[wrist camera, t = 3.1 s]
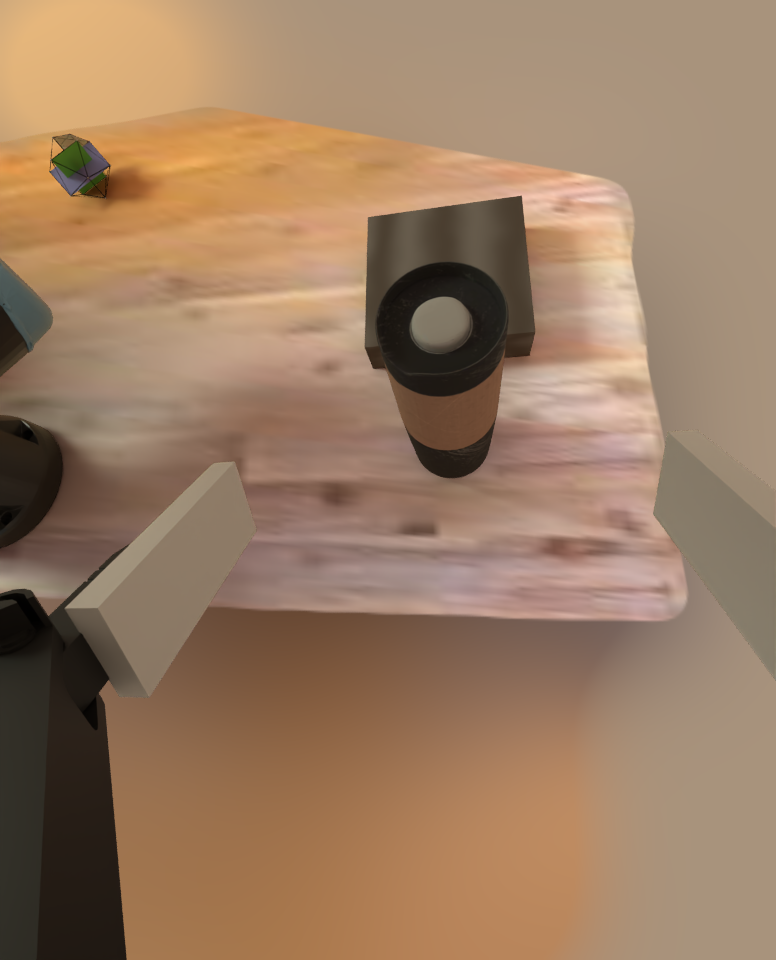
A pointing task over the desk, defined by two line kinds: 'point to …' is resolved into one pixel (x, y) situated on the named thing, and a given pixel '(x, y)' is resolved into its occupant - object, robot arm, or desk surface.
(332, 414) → the desk surface
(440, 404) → the travel mug
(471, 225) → the stand
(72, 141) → the geometric puzzle
